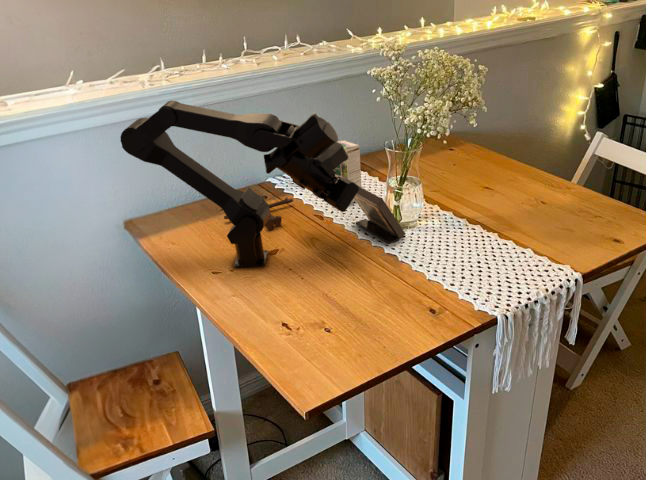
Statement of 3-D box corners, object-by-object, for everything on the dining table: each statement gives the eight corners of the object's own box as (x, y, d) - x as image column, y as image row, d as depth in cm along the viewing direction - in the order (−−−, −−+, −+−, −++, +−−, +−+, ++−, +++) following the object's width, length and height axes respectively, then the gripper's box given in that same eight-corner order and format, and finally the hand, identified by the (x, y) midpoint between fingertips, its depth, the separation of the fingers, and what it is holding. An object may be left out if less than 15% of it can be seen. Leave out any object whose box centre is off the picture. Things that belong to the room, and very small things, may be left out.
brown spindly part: (237, 227, 153) (215, 200, 163) (239, 243, 156) (218, 215, 166) (309, 208, 161) (284, 183, 171) (310, 223, 164) (285, 198, 173)
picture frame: (400, 239, 153) (376, 204, 144) (369, 221, 161) (345, 187, 152) (406, 233, 153) (382, 198, 144) (375, 216, 161) (351, 182, 153)
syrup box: (331, 200, 172) (326, 145, 164) (348, 193, 176) (344, 138, 168) (346, 206, 169) (342, 150, 161) (363, 198, 172) (360, 143, 165)
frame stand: (389, 246, 150) (388, 242, 150) (355, 225, 159) (355, 222, 159) (399, 242, 152) (398, 238, 151) (365, 222, 161) (365, 218, 160)
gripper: (347, 144, 129) (395, 183, 140) (298, 121, 142) (346, 159, 153) (316, 194, 129) (366, 229, 141) (270, 166, 142) (319, 200, 153)
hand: (349, 202), depth 147 cm, fingers closed
